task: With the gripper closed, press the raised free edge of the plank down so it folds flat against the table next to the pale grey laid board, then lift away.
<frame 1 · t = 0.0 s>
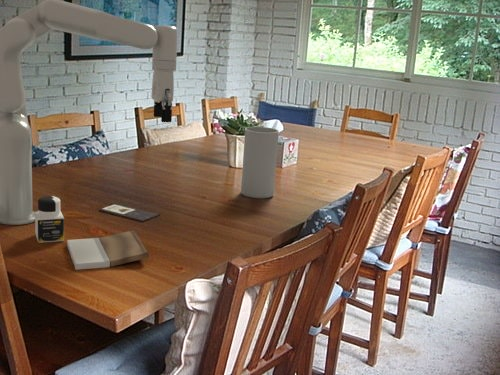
hand: (162, 119, 207), 31 cm above the table, tool pointing down, fingers open, 9 cm apart
plank: (122, 247, 176), point 2 cm above the table, hinge at 9.8°
laid board: (87, 255, 173), on the table
cylinder vase: (257, 195, 244), on the table
chocolate bar: (129, 215, 211), on the table
medicine bottle: (49, 238, 184), on the table
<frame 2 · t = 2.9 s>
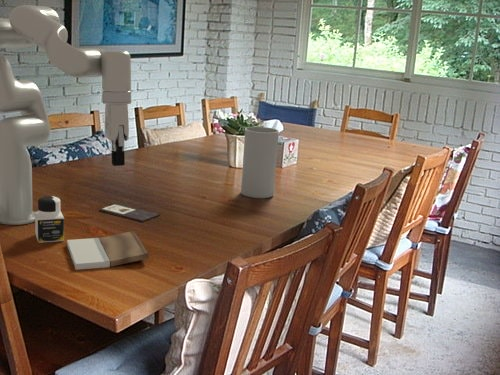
hand: (118, 164, 175), 24 cm above the table, tool pointing down, fingers closed
plank: (123, 247, 176), point 2 cm above the table, hinge at 8.4°
everything else where it was.
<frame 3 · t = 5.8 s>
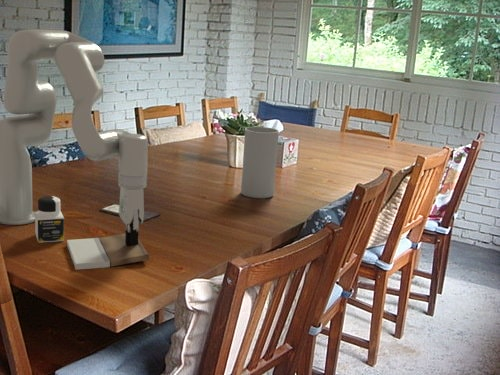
hand: (131, 244, 177), 2 cm above the table, tool pointing down, fingers closed
plank: (123, 248, 176), point 1 cm above the table, hinge at 6.4°, touching gripper
everything else where it was.
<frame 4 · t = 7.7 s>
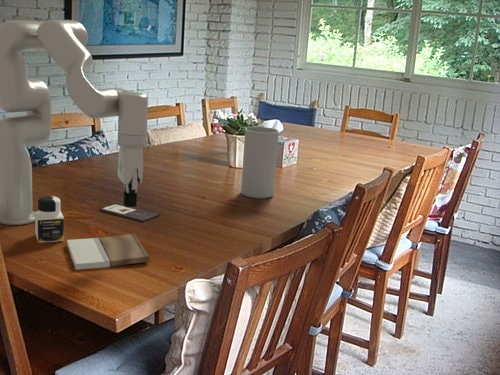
hand: (130, 205, 174), 13 cm above the table, tool pointing down, fingers closed
plank: (123, 249, 176), point 1 cm above the table, hinge at 3.3°
everything else where it was.
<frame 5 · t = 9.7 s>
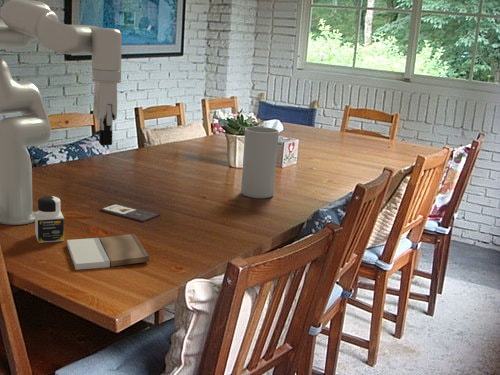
hand: (105, 144, 174), 29 cm above the table, tool pointing down, fingers closed
nothing on the table moved.
at the end: plank at +3° (first picture: +10°); plank touching nothing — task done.
